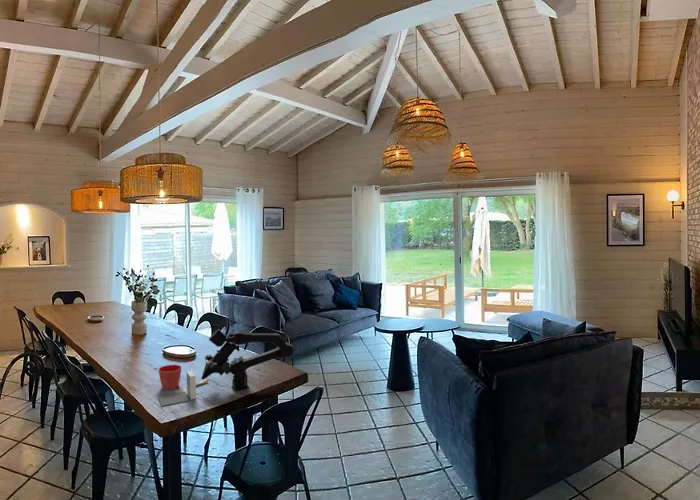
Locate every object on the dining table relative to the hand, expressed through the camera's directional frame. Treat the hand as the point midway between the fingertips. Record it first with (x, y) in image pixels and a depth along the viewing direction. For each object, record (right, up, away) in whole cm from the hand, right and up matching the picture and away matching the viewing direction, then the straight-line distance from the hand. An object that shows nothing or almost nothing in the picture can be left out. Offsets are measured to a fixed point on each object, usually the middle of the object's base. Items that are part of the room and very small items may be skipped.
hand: (202, 379), depth 212 cm
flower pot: (-19, -7, +9) cm, 22 cm away
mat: (-11, -8, -7) cm, 15 cm away
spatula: (-8, -7, +8) cm, 13 cm away
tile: (-4, -7, -3) cm, 9 cm away
